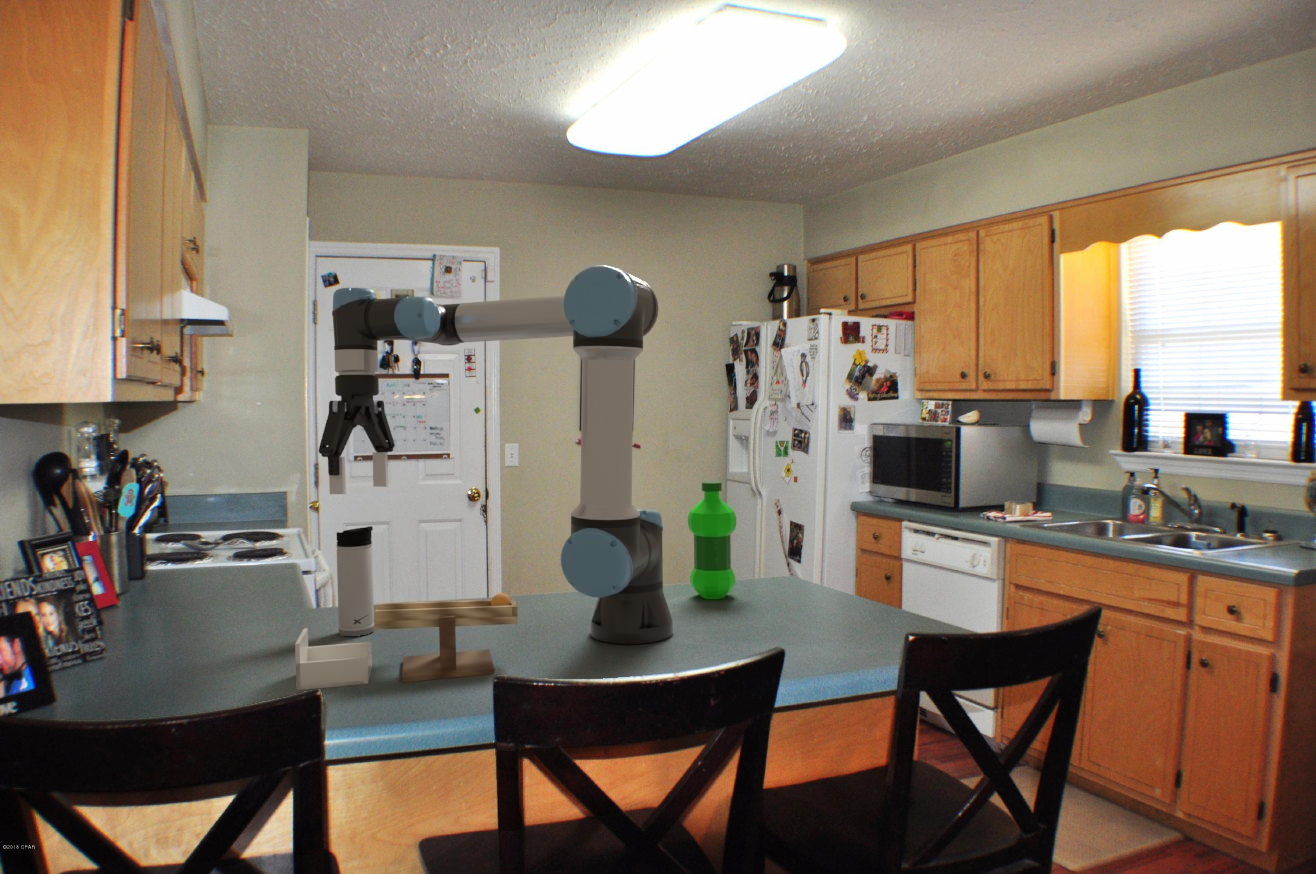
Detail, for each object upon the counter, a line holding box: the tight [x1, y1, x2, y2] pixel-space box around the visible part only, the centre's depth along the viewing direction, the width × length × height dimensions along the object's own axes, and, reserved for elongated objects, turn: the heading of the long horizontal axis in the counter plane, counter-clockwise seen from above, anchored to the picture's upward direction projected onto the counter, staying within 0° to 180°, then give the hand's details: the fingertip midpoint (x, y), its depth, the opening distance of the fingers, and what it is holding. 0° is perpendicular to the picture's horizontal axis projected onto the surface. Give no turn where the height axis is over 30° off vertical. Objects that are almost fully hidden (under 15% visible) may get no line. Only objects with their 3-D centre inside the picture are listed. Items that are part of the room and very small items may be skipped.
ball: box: [491, 592, 511, 606], centre depth 140 cm, size 3×3×3 cm
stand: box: [401, 615, 495, 683], centre depth 138 cm, size 14×11×9 cm
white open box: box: [294, 627, 373, 691], centre depth 133 cm, size 10×9×7 cm
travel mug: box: [336, 525, 375, 637], centre depth 159 cm, size 6×7×20 cm
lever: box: [374, 598, 519, 631], centre depth 141 cm, size 22×12×3 cm, turn 105°
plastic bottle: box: [687, 481, 737, 600], centre depth 186 cm, size 10×10×25 cm
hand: (360, 490), depth 156 cm, fingers open, 13 cm apart
